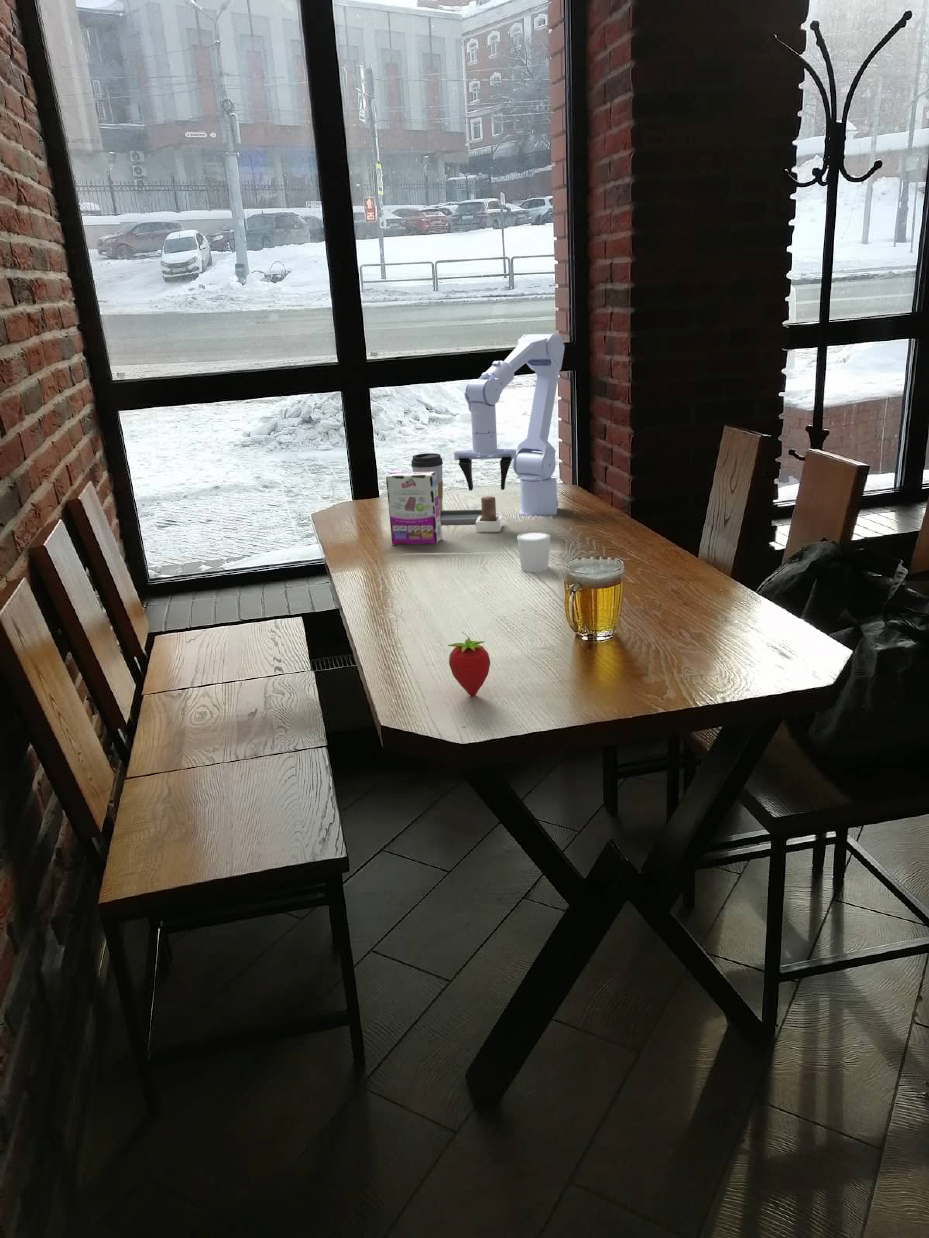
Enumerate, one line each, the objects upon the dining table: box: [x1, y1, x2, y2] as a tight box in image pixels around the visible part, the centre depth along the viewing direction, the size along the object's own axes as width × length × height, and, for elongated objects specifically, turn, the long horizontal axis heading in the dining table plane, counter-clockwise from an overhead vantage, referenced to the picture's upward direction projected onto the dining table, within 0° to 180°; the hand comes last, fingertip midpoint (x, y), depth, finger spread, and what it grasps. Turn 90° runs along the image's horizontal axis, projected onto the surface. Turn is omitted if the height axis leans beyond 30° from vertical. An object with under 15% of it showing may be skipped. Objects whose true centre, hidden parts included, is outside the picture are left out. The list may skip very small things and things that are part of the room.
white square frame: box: [475, 515, 504, 533], centre depth 224 cm, size 6×6×3 cm
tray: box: [440, 509, 482, 526], centre depth 235 cm, size 14×10×2 cm
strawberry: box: [447, 631, 491, 697], centre depth 134 cm, size 6×8×10 cm
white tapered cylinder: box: [516, 531, 551, 573], centre depth 192 cm, size 7×7×7 cm
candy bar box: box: [385, 471, 443, 546], centre depth 215 cm, size 11×5×16 cm, turn 76°
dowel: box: [480, 495, 497, 521], centre depth 224 cm, size 3×3×8 cm
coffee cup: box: [410, 452, 444, 511], centre depth 244 cm, size 8×8×15 cm
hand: (486, 489), depth 222 cm, fingers open, 7 cm apart
